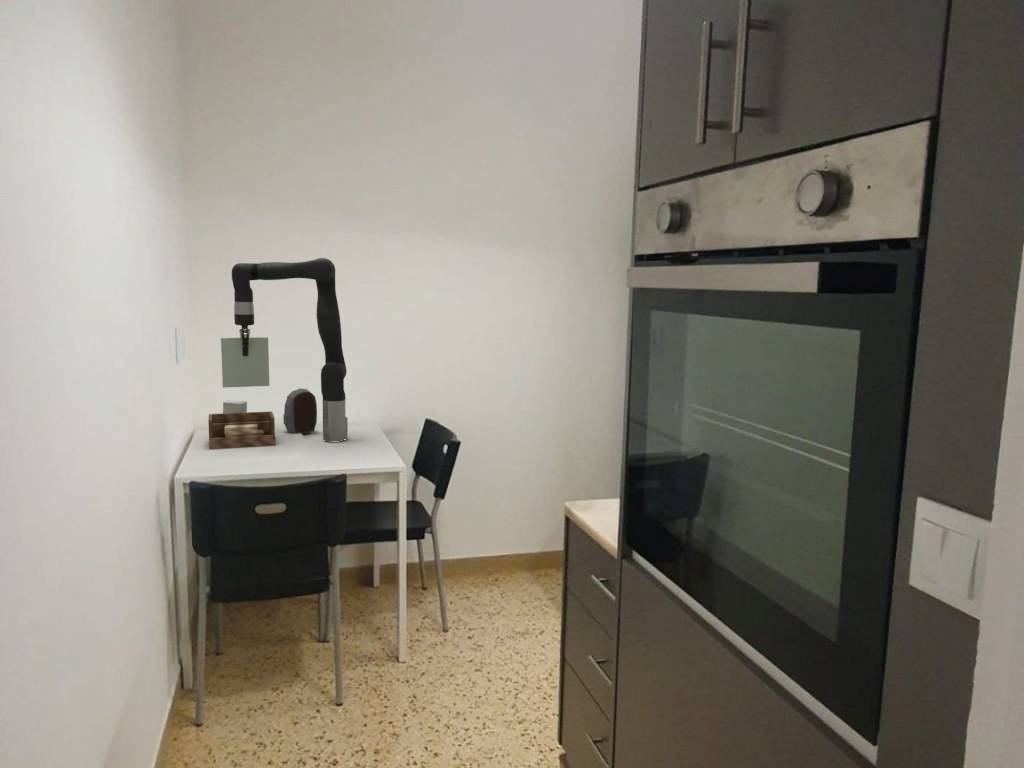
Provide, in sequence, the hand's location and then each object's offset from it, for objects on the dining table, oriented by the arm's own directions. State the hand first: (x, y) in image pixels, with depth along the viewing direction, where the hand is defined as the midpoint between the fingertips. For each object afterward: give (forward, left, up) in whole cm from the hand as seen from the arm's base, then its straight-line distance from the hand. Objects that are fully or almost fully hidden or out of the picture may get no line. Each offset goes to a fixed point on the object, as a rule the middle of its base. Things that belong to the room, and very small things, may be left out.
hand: (245, 355), depth 297 cm
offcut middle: (+7, +14, -31) cm, 35 cm away
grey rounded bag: (-22, +3, -35) cm, 42 cm away
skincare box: (+2, -8, -35) cm, 36 cm away
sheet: (0, 0, -13) cm, 13 cm away
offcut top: (+8, +14, -28) cm, 33 cm away
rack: (+7, +12, -35) cm, 38 cm away
